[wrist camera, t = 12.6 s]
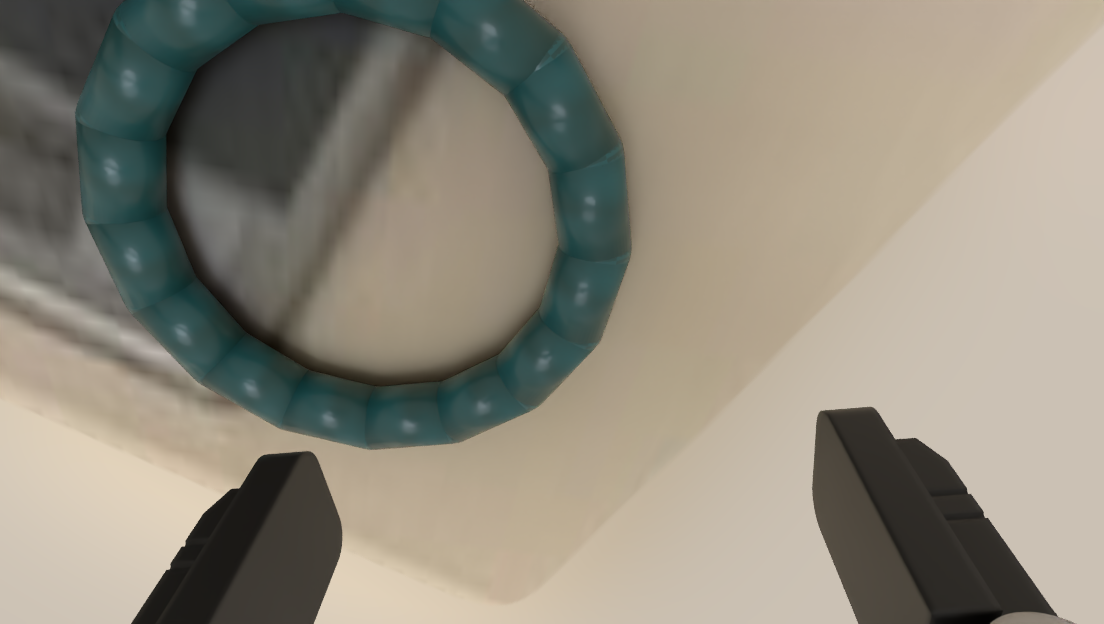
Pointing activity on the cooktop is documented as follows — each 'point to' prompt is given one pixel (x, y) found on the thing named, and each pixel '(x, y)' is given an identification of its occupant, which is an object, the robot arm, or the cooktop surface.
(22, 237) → the cooktop surface
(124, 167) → the ring
